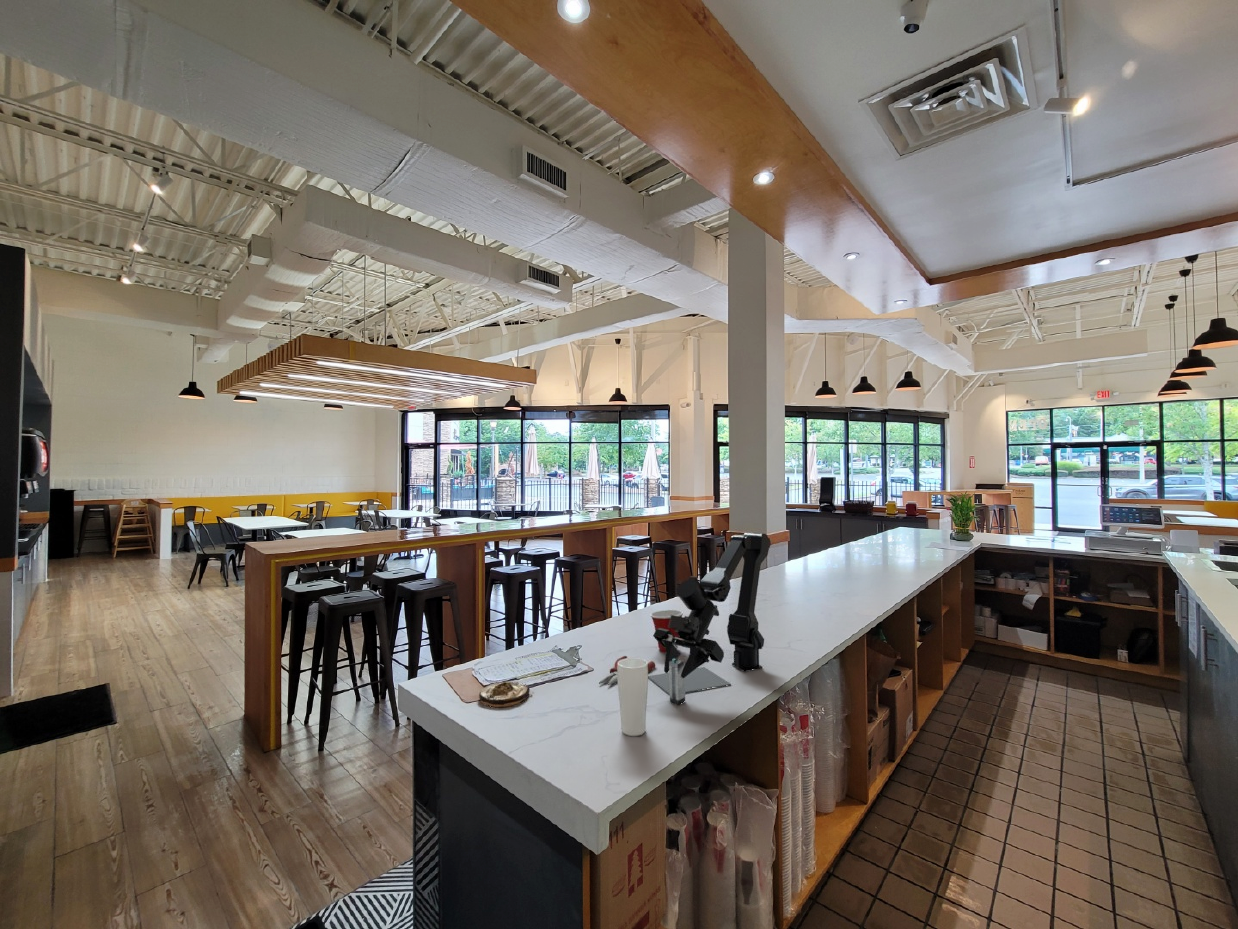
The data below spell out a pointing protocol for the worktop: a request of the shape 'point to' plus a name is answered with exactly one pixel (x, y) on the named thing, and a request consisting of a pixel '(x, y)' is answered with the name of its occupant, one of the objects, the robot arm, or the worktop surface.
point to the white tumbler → (633, 694)
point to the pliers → (613, 672)
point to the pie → (504, 694)
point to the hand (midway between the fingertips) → (673, 674)
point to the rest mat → (691, 680)
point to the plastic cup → (664, 622)
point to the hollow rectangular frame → (676, 682)
